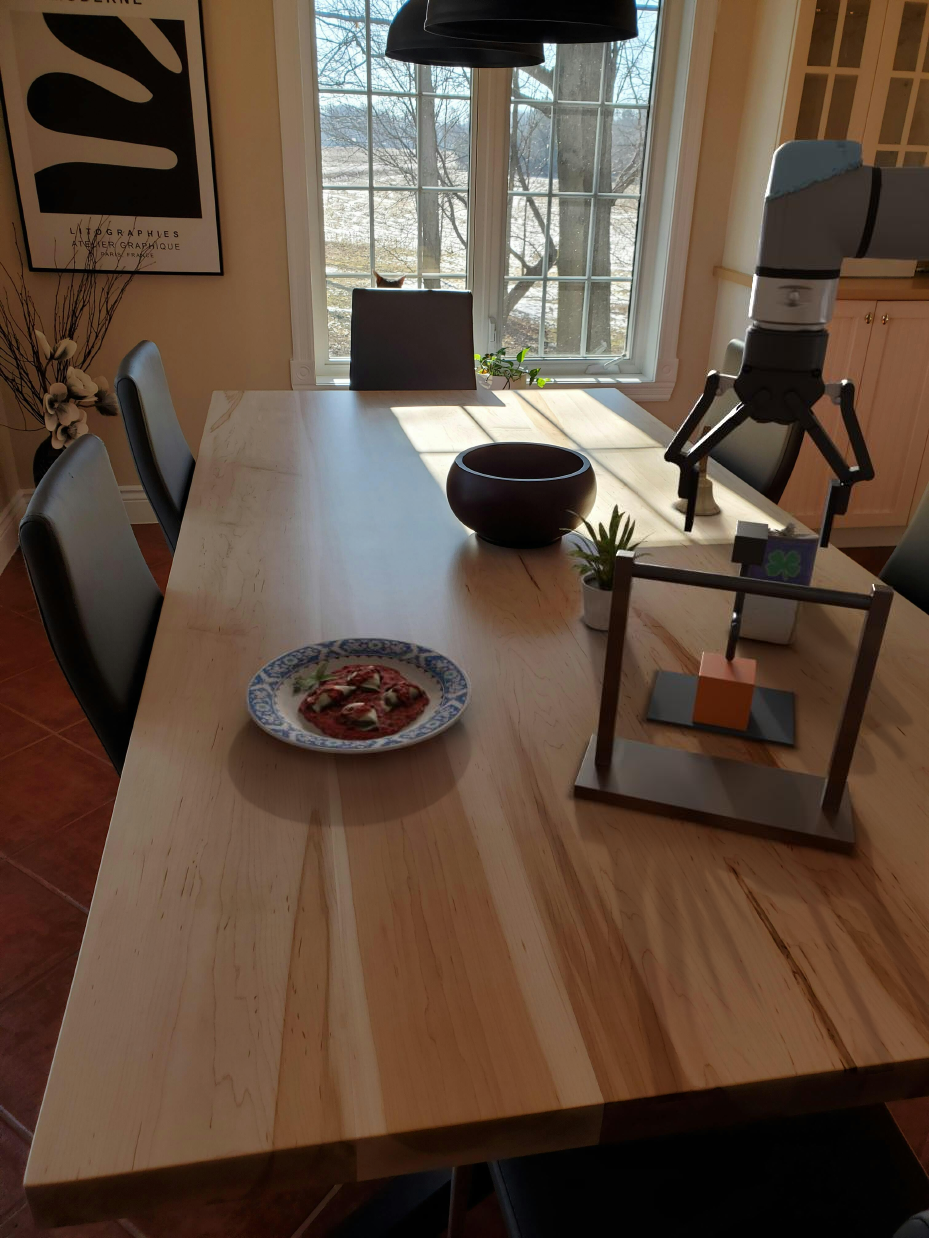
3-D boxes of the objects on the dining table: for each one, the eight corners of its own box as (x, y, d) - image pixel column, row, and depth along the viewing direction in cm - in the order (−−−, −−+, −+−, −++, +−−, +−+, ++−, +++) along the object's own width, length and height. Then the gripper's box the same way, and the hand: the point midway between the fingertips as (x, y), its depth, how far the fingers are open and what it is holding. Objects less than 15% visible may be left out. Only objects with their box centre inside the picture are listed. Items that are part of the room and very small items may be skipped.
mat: (792, 694, 109) (793, 691, 109) (793, 747, 98) (793, 744, 98) (659, 672, 113) (659, 669, 113) (646, 720, 103) (646, 717, 103)
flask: (807, 588, 138) (820, 522, 134) (810, 595, 136) (824, 529, 131) (745, 582, 140) (756, 517, 135) (747, 590, 137) (759, 524, 132)
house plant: (550, 594, 134) (558, 488, 127) (644, 600, 133) (657, 494, 126) (548, 637, 121) (557, 522, 114) (652, 644, 120) (667, 529, 113)
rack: (845, 793, 91) (902, 570, 80) (851, 855, 83) (916, 615, 72) (591, 744, 98) (613, 533, 87) (573, 797, 89) (594, 570, 79)
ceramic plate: (517, 706, 105) (518, 684, 103) (342, 801, 88) (340, 776, 87) (374, 633, 121) (373, 613, 120) (203, 701, 104) (200, 678, 103)
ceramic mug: (793, 655, 118) (804, 601, 115) (729, 644, 120) (738, 591, 117) (796, 624, 127) (806, 573, 124) (736, 614, 129) (745, 564, 126)
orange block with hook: (748, 705, 106) (782, 524, 96) (746, 731, 100) (782, 542, 91) (696, 696, 107) (724, 517, 97) (691, 721, 102) (720, 535, 92)
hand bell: (695, 518, 167) (707, 433, 160) (665, 505, 173) (676, 422, 166) (728, 511, 170) (742, 428, 163) (698, 499, 177) (710, 418, 170)
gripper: (650, 322, 85) (630, 533, 94) (938, 337, 79) (886, 563, 88) (660, 313, 92) (640, 511, 101) (926, 326, 85) (879, 537, 94)
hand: (754, 535), depth 94 cm, fingers open, 13 cm apart
